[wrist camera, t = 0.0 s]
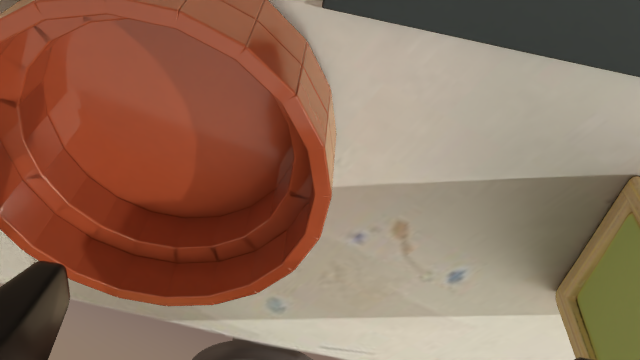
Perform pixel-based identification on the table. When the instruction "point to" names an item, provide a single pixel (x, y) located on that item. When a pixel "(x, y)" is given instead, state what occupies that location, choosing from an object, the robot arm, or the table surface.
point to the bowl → (163, 144)
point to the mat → (524, 25)
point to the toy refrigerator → (607, 286)
